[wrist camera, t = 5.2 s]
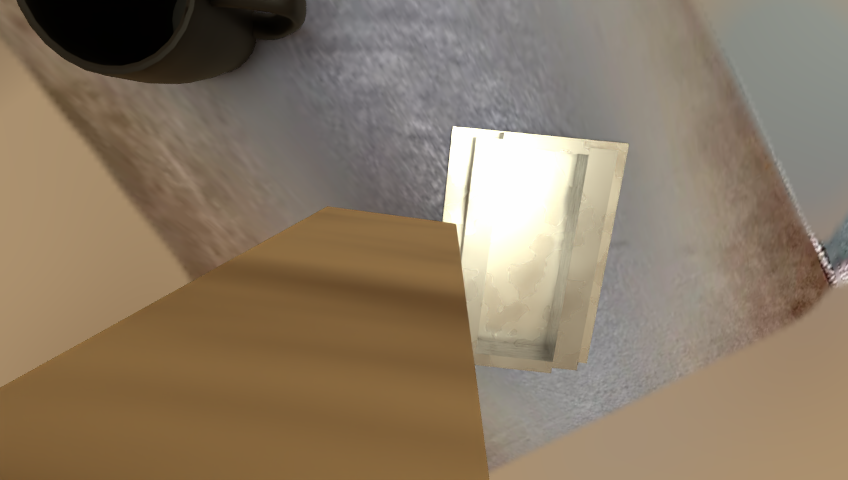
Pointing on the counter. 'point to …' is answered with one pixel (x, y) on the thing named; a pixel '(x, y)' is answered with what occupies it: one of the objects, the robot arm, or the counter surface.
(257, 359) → the wooden block
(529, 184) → the beige piece
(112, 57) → the mug
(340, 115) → the counter surface
